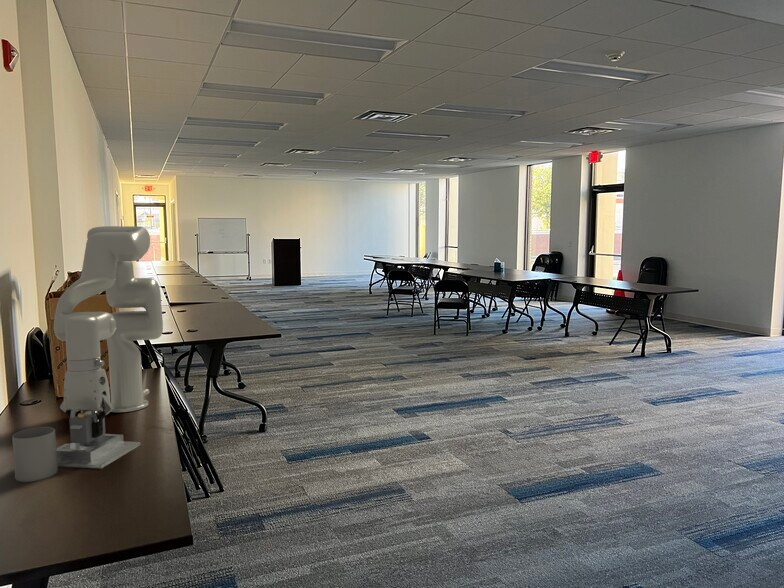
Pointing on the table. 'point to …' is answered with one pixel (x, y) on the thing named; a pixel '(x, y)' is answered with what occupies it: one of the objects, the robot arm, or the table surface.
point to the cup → (34, 454)
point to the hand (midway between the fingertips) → (88, 435)
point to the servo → (83, 428)
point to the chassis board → (94, 452)
